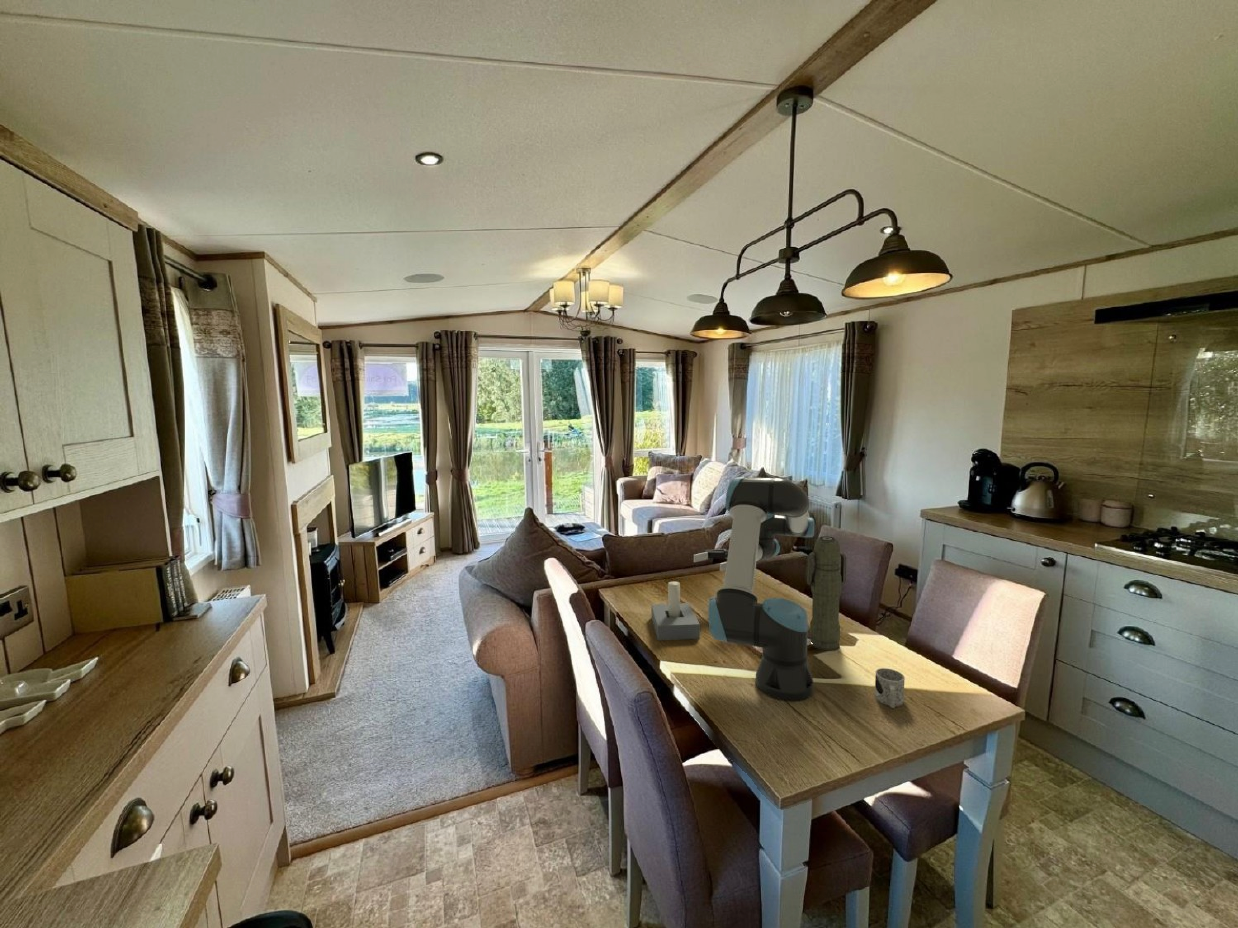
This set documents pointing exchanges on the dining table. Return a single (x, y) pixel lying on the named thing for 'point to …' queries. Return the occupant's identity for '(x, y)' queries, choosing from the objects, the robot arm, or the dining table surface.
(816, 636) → the thermos
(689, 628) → the hole block
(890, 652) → the dining table surface
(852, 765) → the dining table surface
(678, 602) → the pin
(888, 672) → the mug
